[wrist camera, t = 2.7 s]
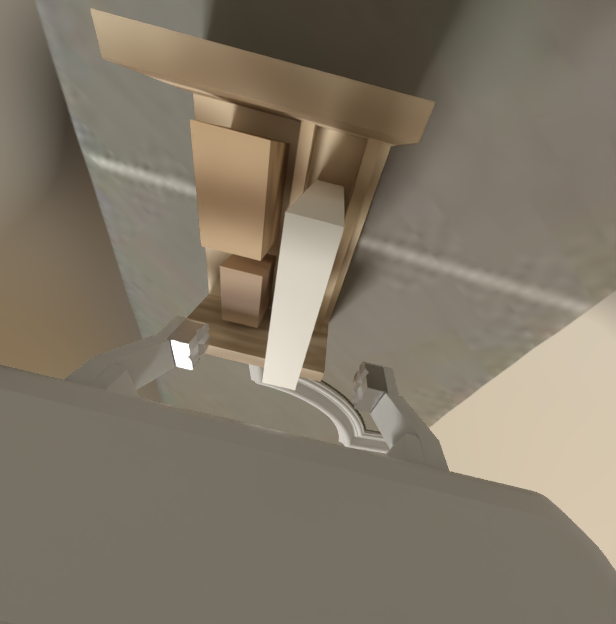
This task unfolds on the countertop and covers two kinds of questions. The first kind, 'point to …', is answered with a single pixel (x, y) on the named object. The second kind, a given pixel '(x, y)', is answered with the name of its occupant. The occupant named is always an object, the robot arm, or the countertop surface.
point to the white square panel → (302, 278)
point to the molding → (332, 411)
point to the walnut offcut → (246, 288)
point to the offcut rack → (283, 127)
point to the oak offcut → (238, 188)
